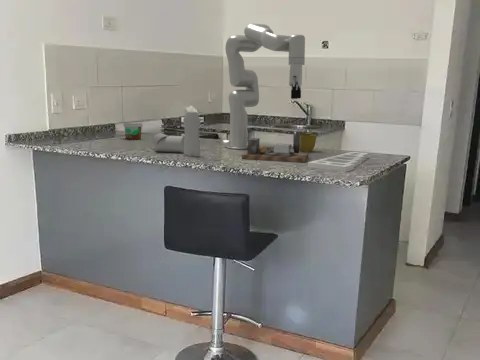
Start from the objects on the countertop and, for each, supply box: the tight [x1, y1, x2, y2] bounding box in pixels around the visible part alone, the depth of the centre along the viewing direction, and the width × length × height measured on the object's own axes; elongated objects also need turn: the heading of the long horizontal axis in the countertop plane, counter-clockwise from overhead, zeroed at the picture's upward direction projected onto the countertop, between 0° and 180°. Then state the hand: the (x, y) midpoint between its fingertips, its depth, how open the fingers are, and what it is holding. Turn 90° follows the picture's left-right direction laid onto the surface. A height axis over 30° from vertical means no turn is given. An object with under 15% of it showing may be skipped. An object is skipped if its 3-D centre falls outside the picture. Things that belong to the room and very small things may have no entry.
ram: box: [273, 131, 301, 154], centre depth 258 cm, size 12×8×10 cm, turn 75°
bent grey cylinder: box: [152, 133, 185, 154], centre depth 281 cm, size 18×10×20 cm
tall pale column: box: [183, 110, 201, 158], centre depth 264 cm, size 11×4×22 cm, turn 54°
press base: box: [241, 137, 309, 163], centre depth 260 cm, size 30×14×9 cm, turn 75°
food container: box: [122, 122, 143, 141], centre depth 326 cm, size 12×6×10 cm, turn 73°
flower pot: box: [299, 133, 318, 153], centre depth 287 cm, size 9×9×9 cm
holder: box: [307, 151, 369, 173], centre depth 250 cm, size 45×18×3 cm, turn 143°
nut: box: [258, 144, 268, 154], centre depth 262 cm, size 4×4×4 cm
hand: (296, 98), depth 258 cm, fingers open, 9 cm apart
